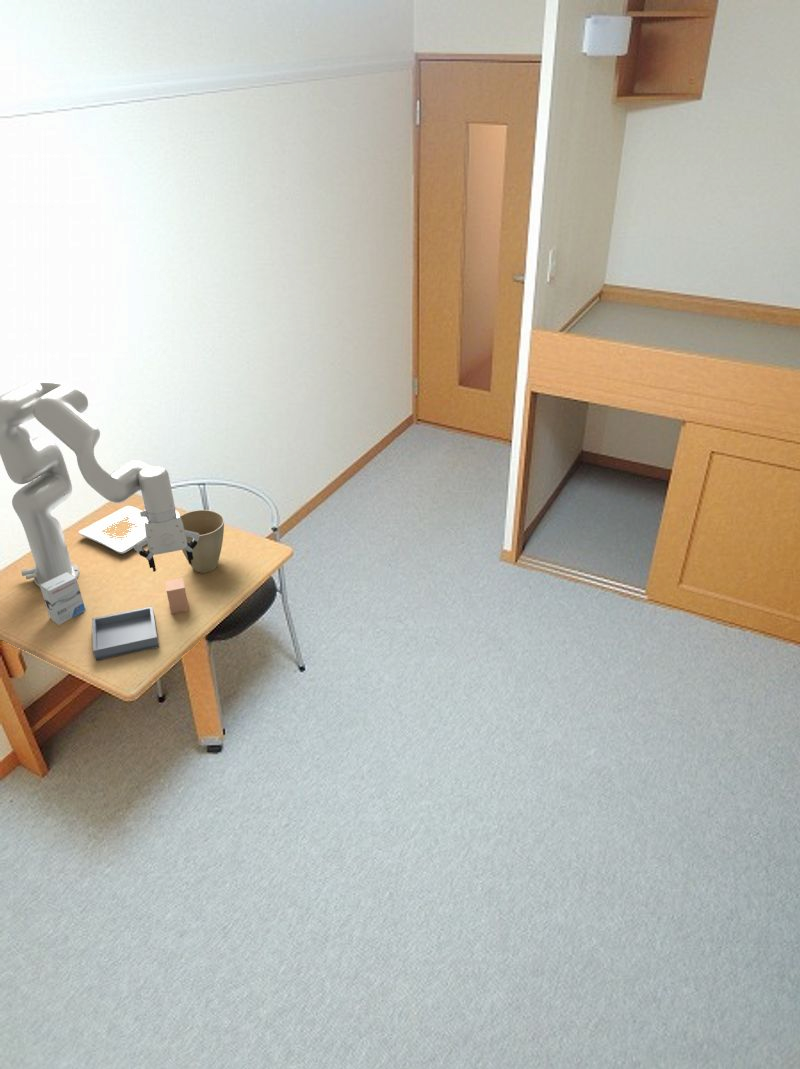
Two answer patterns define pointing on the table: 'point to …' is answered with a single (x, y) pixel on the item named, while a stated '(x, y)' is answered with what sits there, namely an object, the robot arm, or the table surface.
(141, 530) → the salad plate
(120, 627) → the tray
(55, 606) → the ink box
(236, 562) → the table surface
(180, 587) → the terracotta block
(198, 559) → the plant pot
